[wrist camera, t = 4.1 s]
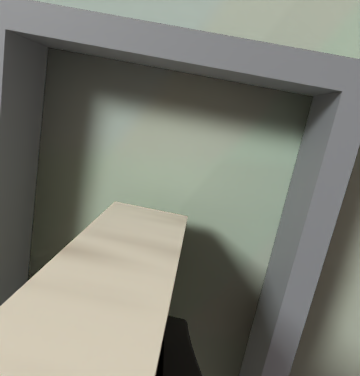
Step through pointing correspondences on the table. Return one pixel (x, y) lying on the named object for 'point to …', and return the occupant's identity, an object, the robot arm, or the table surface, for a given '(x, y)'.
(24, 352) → the pale wooden block
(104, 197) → the table surface
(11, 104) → the tray
